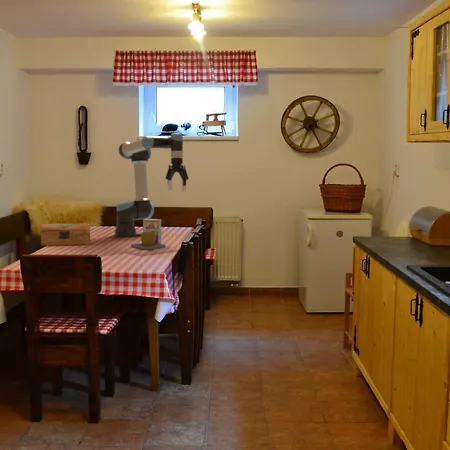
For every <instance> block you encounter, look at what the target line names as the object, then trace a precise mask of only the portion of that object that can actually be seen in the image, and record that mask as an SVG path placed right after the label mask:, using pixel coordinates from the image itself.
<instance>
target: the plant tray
mask: <svg viewBox="0 0 450 450" xmlns="http://www.w3.org/2000/svg"><path fill="white" fill-rule="evenodd" d="M166 245H167V244H165V243H164V244H163V243H159V244H158V243H154V245H153V246H147V247H146V246H143V245H142V242H140V243H139V242H138V243H134V244H133V243H131V244H130V247H131V248H135V249H139V250H144V251H148V250H156V249H163V248H166V247H167V246H166Z"/></svg>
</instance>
